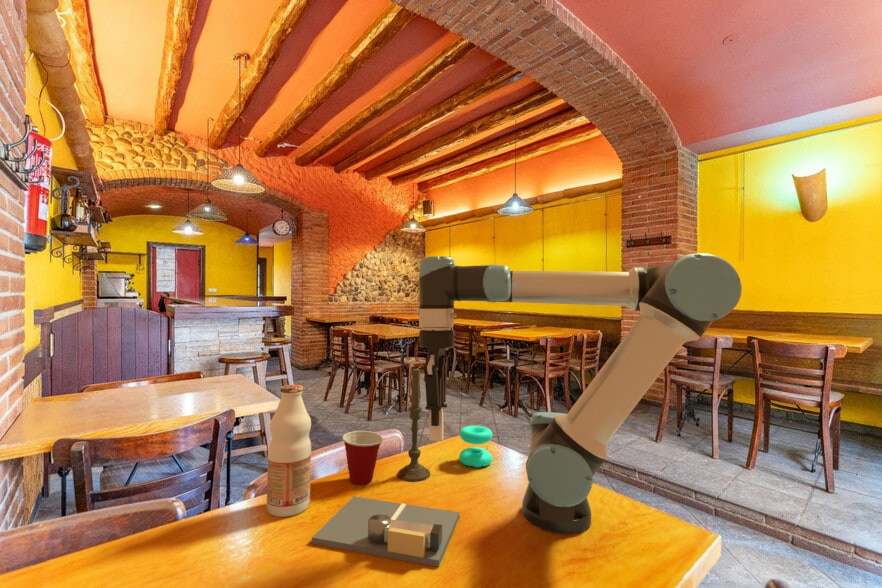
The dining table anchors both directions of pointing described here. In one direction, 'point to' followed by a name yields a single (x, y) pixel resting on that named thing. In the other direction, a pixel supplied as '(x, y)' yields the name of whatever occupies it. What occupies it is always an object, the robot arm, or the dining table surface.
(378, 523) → the lock bar
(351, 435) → the plastic cup
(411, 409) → the candlestick holder
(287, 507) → the fruit juice
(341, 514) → the plate
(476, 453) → the donuts
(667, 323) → the robot arm
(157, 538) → the dining table surface
